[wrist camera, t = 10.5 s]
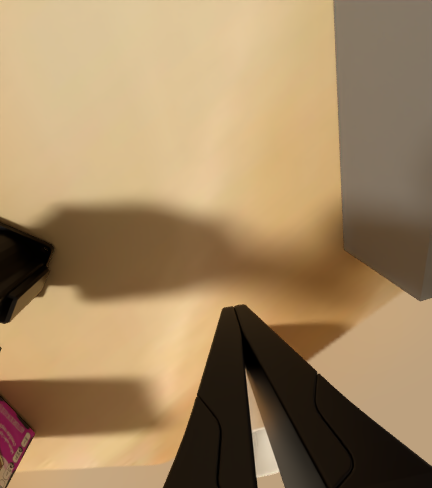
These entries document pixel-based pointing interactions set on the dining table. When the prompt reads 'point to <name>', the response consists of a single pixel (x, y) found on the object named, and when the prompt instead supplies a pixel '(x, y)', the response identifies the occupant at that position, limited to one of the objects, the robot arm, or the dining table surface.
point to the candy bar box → (12, 442)
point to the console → (386, 137)
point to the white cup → (260, 440)
